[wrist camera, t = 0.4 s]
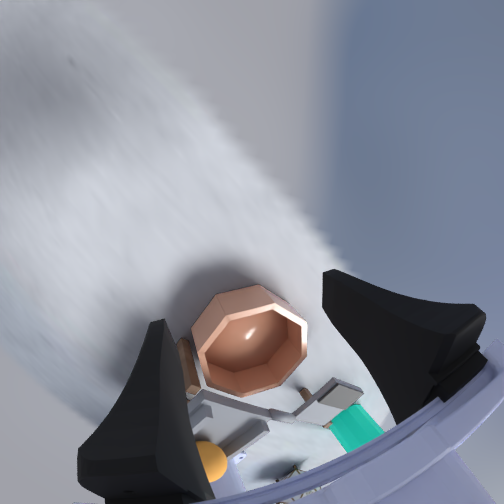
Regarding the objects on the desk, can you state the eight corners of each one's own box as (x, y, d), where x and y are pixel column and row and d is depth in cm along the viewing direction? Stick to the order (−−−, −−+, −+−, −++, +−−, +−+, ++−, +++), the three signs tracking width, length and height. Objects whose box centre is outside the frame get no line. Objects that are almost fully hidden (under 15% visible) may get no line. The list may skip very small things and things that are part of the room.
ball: (209, 448, 22) (208, 485, 19) (172, 439, 20) (169, 479, 17) (237, 442, 20) (237, 484, 17) (197, 433, 19) (195, 479, 15)
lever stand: (261, 434, 31) (279, 469, 26) (136, 398, 24) (139, 445, 18) (307, 389, 31) (332, 423, 25) (181, 337, 23) (191, 384, 18)
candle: (322, 433, 36) (362, 489, 25) (339, 407, 35) (386, 465, 24) (350, 427, 38) (390, 476, 27) (368, 401, 37) (414, 451, 26)
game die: (284, 461, 42) (293, 504, 37) (258, 472, 36) (268, 520, 30) (328, 455, 38) (338, 501, 33) (307, 468, 32) (318, 520, 27)
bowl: (251, 381, 27) (262, 404, 24) (174, 349, 24) (179, 375, 20) (307, 314, 27) (325, 333, 24) (235, 268, 23) (248, 286, 20)
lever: (268, 460, 27) (275, 480, 24) (151, 437, 20) (153, 464, 18) (360, 387, 24) (375, 408, 22) (249, 340, 18) (262, 372, 15)
